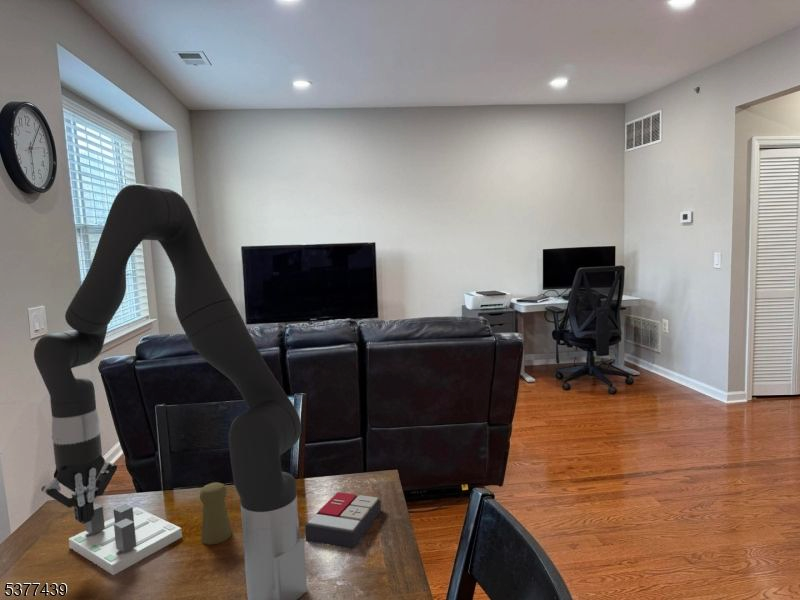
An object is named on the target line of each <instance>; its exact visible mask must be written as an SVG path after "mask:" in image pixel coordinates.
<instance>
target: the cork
mask: <svg viewBox="0 0 800 600" xmlns="http://www.w3.org/2000/svg"><path fill="white" fill-rule="evenodd" d="M226 497H227V488H226V485H225V484H224V483H221V482H211V483H208V484H205V485H204V486H203V487H202V488H201V489H200V492H199V499H200V501H201V503H202V518H201V519H202V521H201V534H200V535H201V536H200V539H201V540H200V541H201V542H202V543H203V544H205V545H217V544H220V543H224V542H225V541H227V540H228V539H230V538H231V536H232V534H233V533H232V532H233V531H232V527H231V522H230V518H229V513H228V509H227V505H226V500H225V499H226Z"/></svg>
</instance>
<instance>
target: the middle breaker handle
mask: <svg viewBox="0 0 800 600" xmlns="http://www.w3.org/2000/svg"><path fill="white" fill-rule="evenodd" d="M133 509H134V508H133V506H131V505H128V504H127V503H123V504H121V505H120V506H117V507H115V508H113V518H114V519H115V523H117V522H119V521H122V520H124V519H126V518H127V519H129V520H131V521H133V522H134V516H133ZM134 527H135V526H134Z"/></svg>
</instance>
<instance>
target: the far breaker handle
mask: <svg viewBox="0 0 800 600" xmlns="http://www.w3.org/2000/svg"><path fill="white" fill-rule="evenodd" d="M93 505H94V516H93V517H92V520H91V521H89V522H87V523H85V524H84V527H85V531H86V532H88V533H90V534H92V535H94V534H96V533H98V532H100V531H102V530H104V529H105V526H104V522H105V520H104V508H103V505H101V504H99V503H96V502H95V503H94V502H93Z"/></svg>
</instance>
